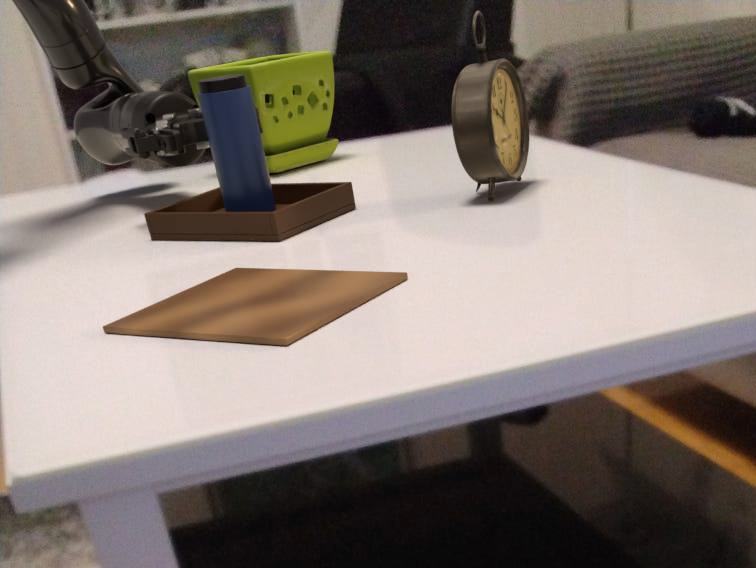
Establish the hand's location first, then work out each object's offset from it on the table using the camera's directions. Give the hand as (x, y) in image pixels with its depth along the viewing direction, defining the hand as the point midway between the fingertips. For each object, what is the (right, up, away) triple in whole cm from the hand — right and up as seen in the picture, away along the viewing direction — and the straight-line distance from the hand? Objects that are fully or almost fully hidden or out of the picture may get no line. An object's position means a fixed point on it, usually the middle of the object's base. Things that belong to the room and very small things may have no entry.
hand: (218, 134), depth 105 cm
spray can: (+3, -8, +1) cm, 9 cm away
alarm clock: (+29, -6, +1) cm, 29 cm away
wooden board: (+10, -26, -25) cm, 37 cm away
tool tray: (+3, -8, +2) cm, 9 cm away
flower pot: (0, +11, +32) cm, 34 cm away
